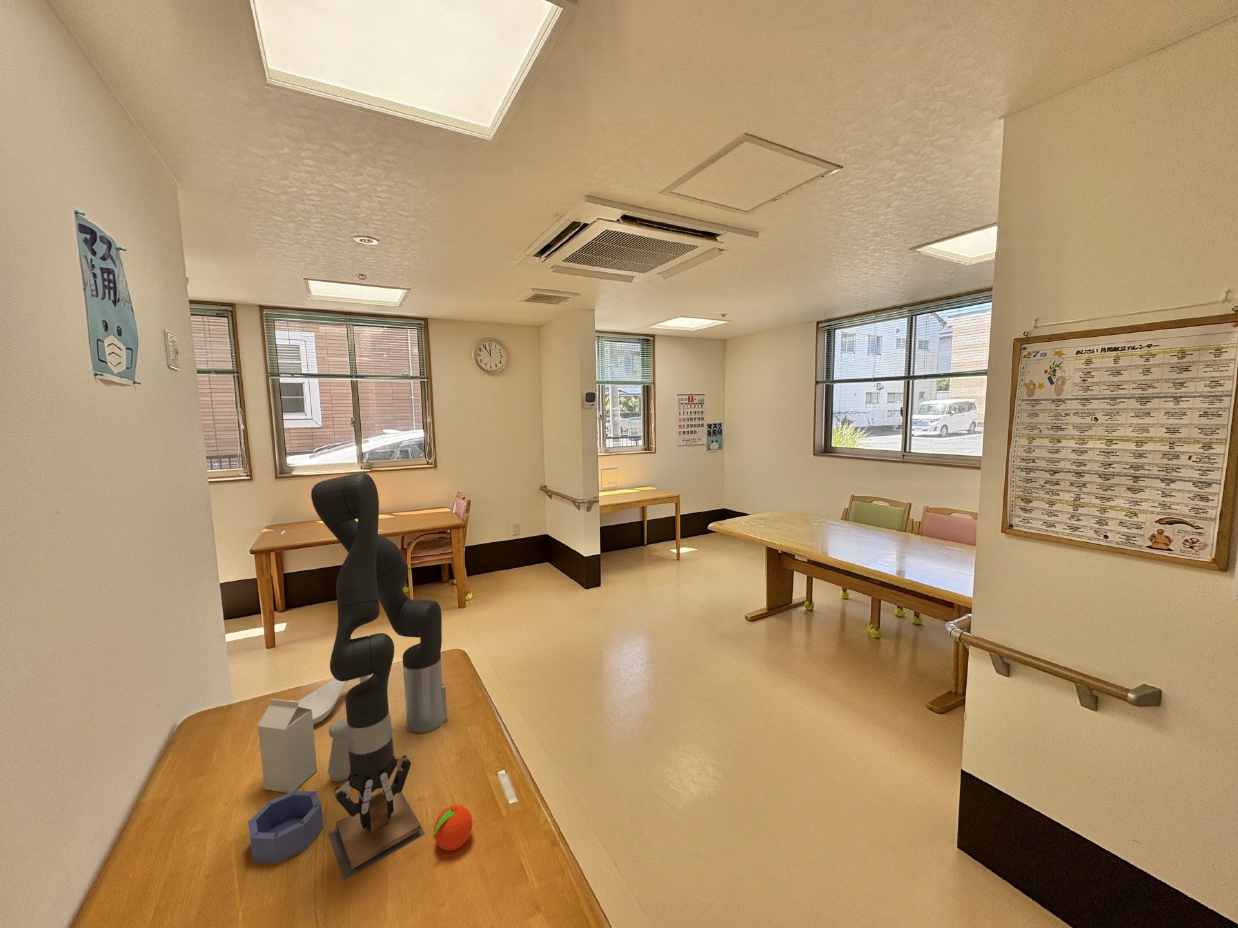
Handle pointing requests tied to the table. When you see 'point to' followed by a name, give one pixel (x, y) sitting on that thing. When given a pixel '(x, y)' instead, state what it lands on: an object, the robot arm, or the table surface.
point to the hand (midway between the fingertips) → (377, 820)
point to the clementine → (453, 827)
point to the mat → (348, 870)
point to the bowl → (285, 826)
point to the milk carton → (286, 745)
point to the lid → (377, 829)
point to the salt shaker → (339, 752)
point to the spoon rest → (324, 699)
